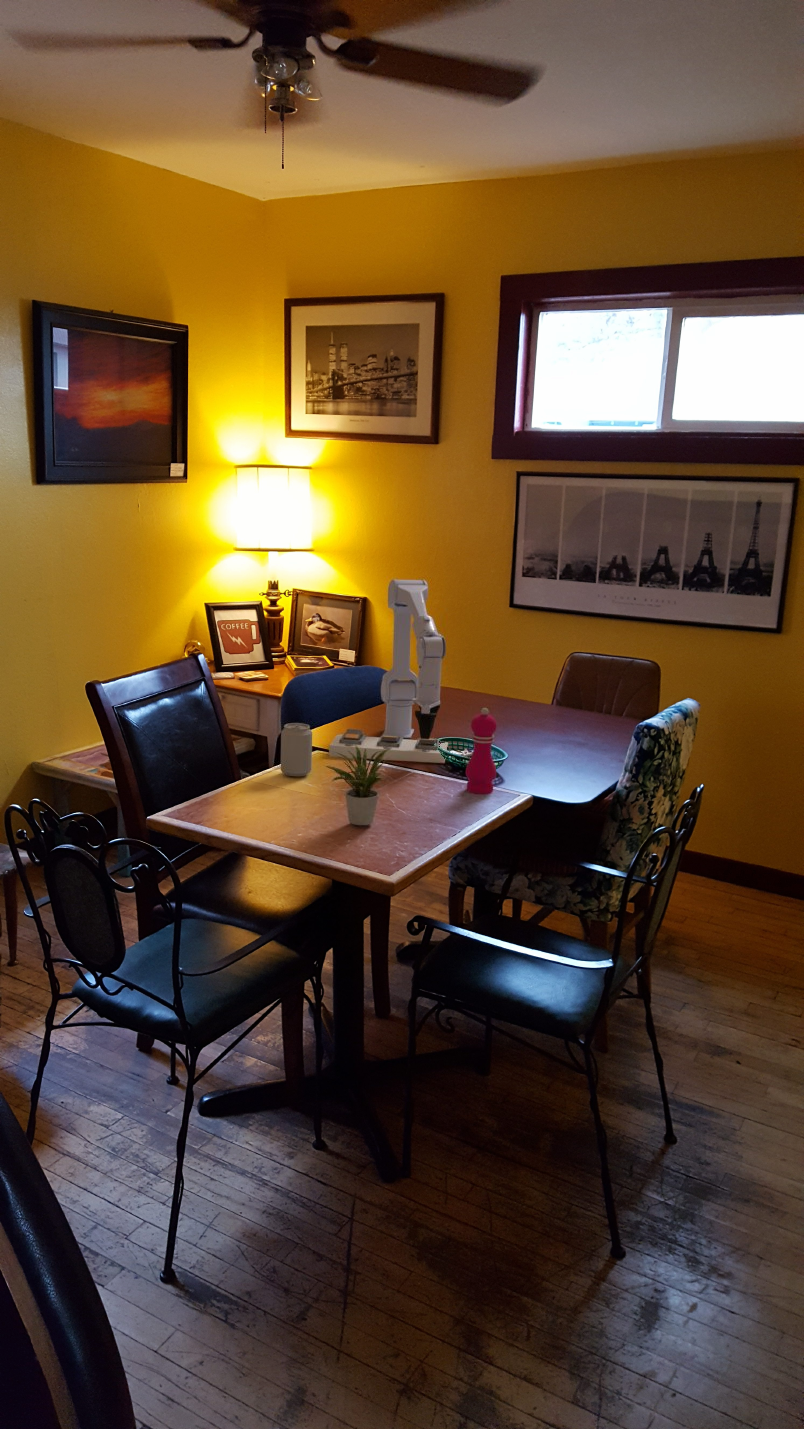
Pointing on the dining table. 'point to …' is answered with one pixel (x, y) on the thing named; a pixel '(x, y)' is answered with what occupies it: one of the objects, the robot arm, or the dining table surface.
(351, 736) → the rocker
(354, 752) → the power strip
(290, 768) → the can
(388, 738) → the rocker
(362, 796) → the house plant
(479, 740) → the pepper mill
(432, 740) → the rocker
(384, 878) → the dining table surface
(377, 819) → the dining table surface
